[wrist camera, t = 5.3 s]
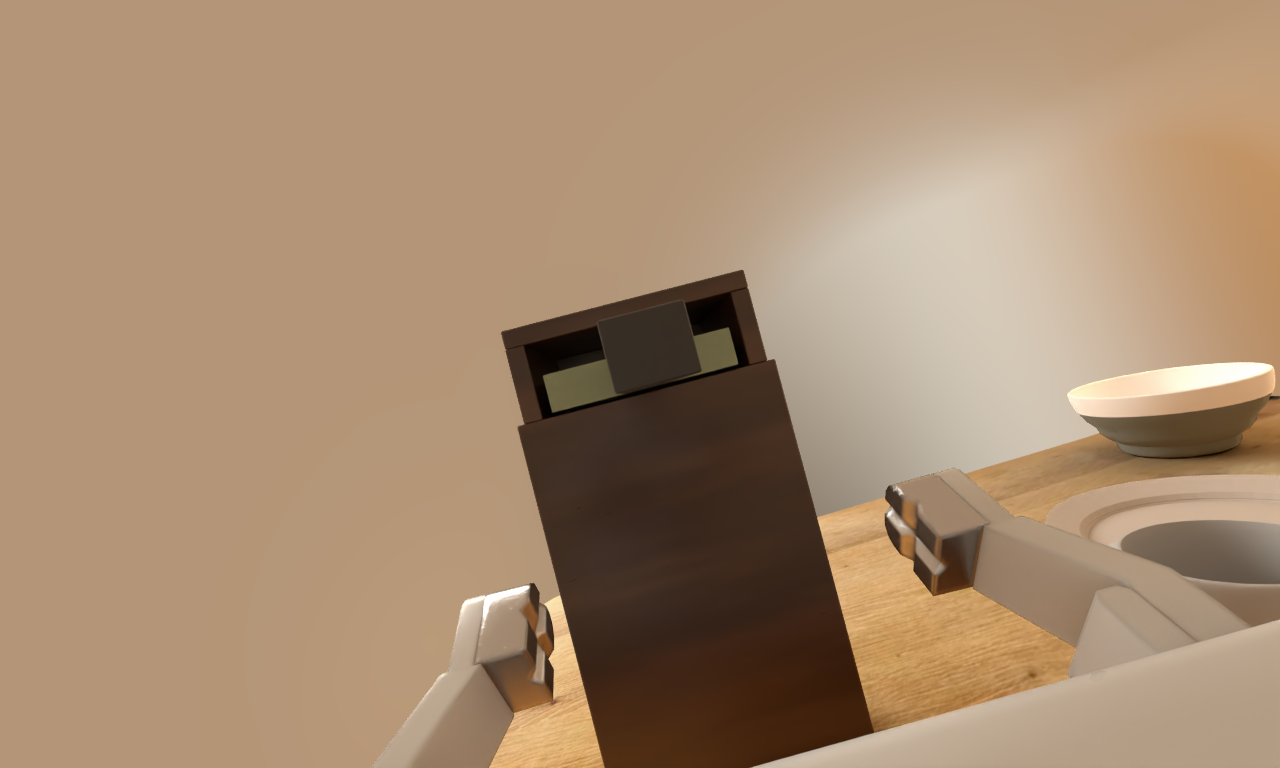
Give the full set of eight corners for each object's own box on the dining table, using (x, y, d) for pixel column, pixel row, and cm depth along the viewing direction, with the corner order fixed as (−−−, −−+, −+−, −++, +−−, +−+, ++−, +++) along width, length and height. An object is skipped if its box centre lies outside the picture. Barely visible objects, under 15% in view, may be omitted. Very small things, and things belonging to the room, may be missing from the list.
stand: (904, 843, 25) (750, 266, 26) (642, 918, 25) (492, 333, 26) (816, 699, 37) (713, 307, 38) (639, 748, 37) (537, 352, 38)
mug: (1522, 813, 20) (1447, 554, 20) (1323, 865, 20) (1250, 606, 20) (1194, 656, 32) (1149, 494, 32) (1069, 689, 32) (1025, 527, 32)
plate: (1510, 662, 27) (1500, 626, 27) (999, 565, 49) (993, 545, 49) (1535, 506, 38) (1528, 481, 38) (1110, 486, 61) (1106, 470, 61)
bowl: (1081, 439, 81) (1066, 383, 81) (1267, 421, 68) (1248, 355, 68) (1086, 474, 67) (1067, 406, 67) (1323, 460, 54) (1299, 375, 54)
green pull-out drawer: (841, 335, 13) (821, 262, 13) (474, 431, 13) (455, 356, 13) (710, 371, 34) (703, 344, 35) (573, 407, 34) (566, 380, 34)
